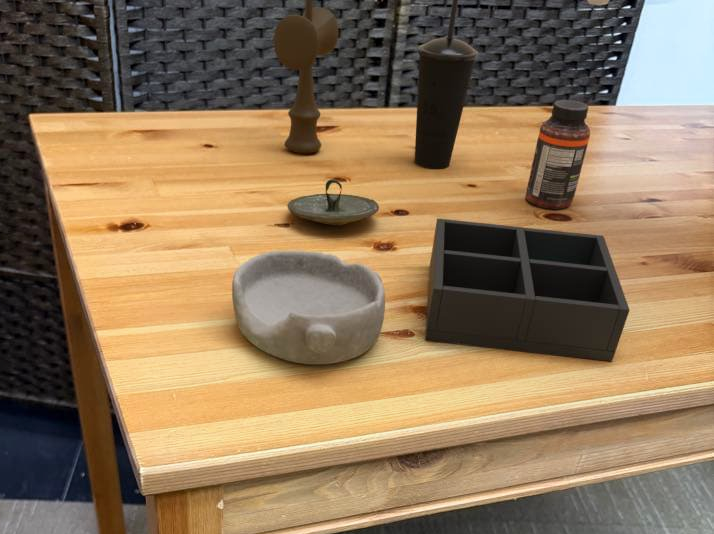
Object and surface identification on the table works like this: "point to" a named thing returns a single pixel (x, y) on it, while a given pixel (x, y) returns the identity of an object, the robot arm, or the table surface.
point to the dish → (308, 306)
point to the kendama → (305, 68)
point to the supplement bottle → (559, 156)
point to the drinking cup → (441, 95)
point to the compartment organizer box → (524, 290)
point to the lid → (333, 207)
